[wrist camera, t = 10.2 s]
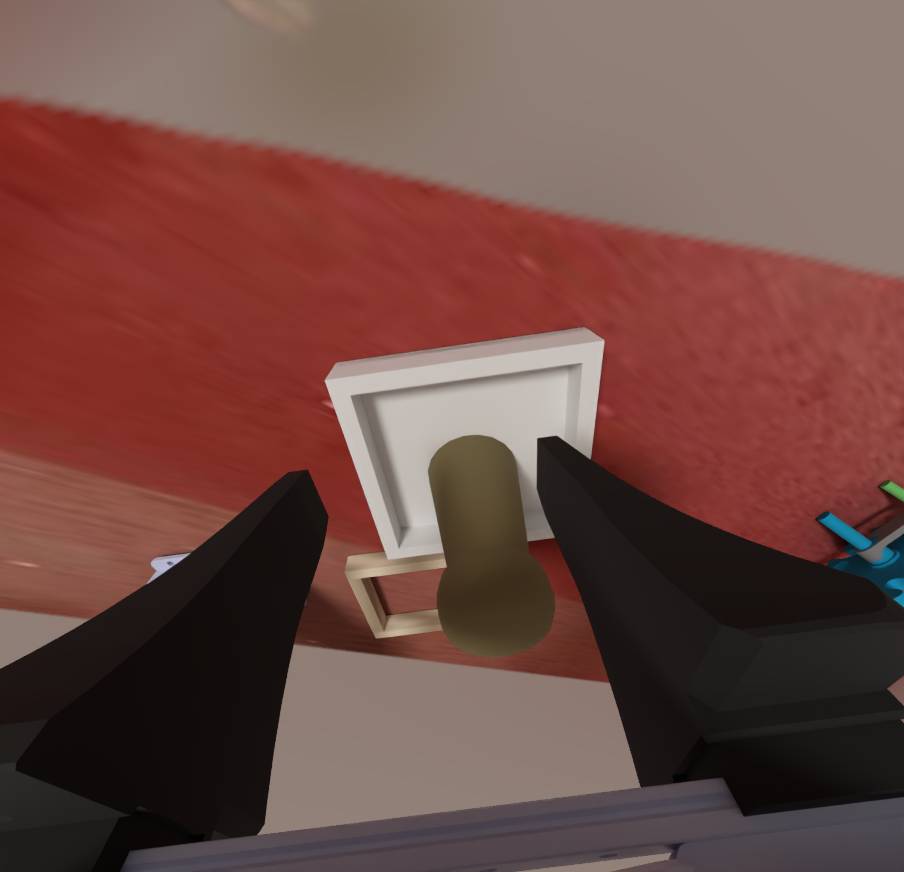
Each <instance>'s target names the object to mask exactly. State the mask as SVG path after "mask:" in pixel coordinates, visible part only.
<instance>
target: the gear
mask: <svg viewBox="0 0 904 872" xmlns="http://www.w3.org/2000/svg"><path fill="white" fill-rule="evenodd" d="M879 487H881V488H882V489H884V490H885V491H887V492H888V493H890V494H892V495H893V496H895V497H896V498H898V499H899V500H901V501H902V502H904V489H902V488H901V487H899V486H898V485H896V484H894V483H893V482H891V481H889V480H888V481H885V482H884V483H882V484H881V485H880V486H879ZM817 520H818V521H819V522H821V523H822V524H824V525H825V526H826V527H828V528H829V529H831V530H832V531H833V532H835V533H836V534H838V535H839V536H840V537H842V538H843V539H845V540H846V541H847V542H849V544H848V545H847V546H846V547H845V548H844V551H845V552H847V553H848V554H849V555H851V557H848V558H844V559H833V560H830V561H829V562H828V564H827V566H828V567H831V568H834V569H838V570H841V571H844V572H847V573H851V574H854V575H857V576H860V577H864V578H867V579H869V580H870V581H872V582H873V583H874V584H875V585H877V586H878V587H879V588H880V589H882V590H883V591H884V592H885V593H887V594H888V595H889V596H890V597H892V598H893V599H894V600H895V601H897V602H898V603H899V604H900V605H902V606H903V607H904V592H903V591H902V590H904V511H902V512H901V513H900V514H898V515H897V516H896V517H894V518H893V519H891V520H890V521H889V522H887V523H886V524H884V525H883V526H881V527H879V528H877V529H875V530H873V531H872V532H871V533H870V535H869V536H868V537H864V536H863V535H861V534H860V533H859V532H857V531H856V530H854V529H853V528H851V527H850V526H849V525H847V524H846V523H844V522H843V521H841V520H840V519H839V518H837V517H836V516H834V515H833V514H831V513H830V512H825V513H823V514H822V515H820V516H819V517H818V518H817Z"/></svg>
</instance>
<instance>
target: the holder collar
mask: <svg viewBox="0 0 904 872" xmlns="http://www.w3.org/2000/svg"><path fill="white" fill-rule="evenodd" d="M444 567H447V566H446V561H445V556H444V552H443V553H436V554H428V555H421V556H413V557H406V558H398V559H390V560H388V558H387V555H386V553H385V551H384V552H376V553H369V554H361V555H353V556H348V559H347V564H346V568H345V574H346V577H347V579H348V581H349V583H350V585H351V587H352V589H353V591H354V593H355V596H356V598H357V600H358V602H359V604H360V606H361V608H362V610H363V612H364V615H365V617H366V619H367V621H368V623H369V625H370V627H371V629H372V631H373V634H374V636H375V638H376V639H377V638H385V637H393V636H400V635H408V634H416V633H424V632H432V631H439V630H443V629H442V627H441V623H440V620H439V616H438V609H434V610H426V611H418V612H410V613H403V614H395V615H387V616H386V615H385V613H384V610H383V608H382V606H381V603H380V601H379V598H378V596H377V594H376V591H375V589H374V586H373V584H372V581H371V579H370V577H375V576H383V575H390V574H398V573H405V572H413V571H421V570H428V569H436V568H444Z"/></svg>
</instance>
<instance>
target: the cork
mask: <svg viewBox="0 0 904 872" xmlns="http://www.w3.org/2000/svg"><path fill="white" fill-rule="evenodd" d="M428 476H429V483H430V488H431V493H432V498H433V502H434V507H435V512H436V517H437V522H438V527H439V532H440V537H441V542H442V546H443V551H444V556H445V561H446V566H447V568H446V569H445V571H444V572H443V575H442V577H441V580H440V583H439V587H438V591H437V609H438V616H439V620H440V623H441V627H442V629H443V631H444V632H445V634H446V635H447V637H448V638H449V640H450V641H451V642H452V643H453V645H454V646H456V647H457V648H459V649H461V650H463V651H464V652H467V653H470V654H473V655H477V656H481V657H503V656H509V655H513V654H517V653H520V652H523V651H525V650H527V649H529V648H531V647H532V646H534V645H535V644H537V643H538V642H539V641H540V640H542V639H543V638H544V637H545V636H546V634H547V633H548V632H549V630H550V629H551V625H552V621H553V617H554V612H555V599H554V593H553V590H552V588H551V585H550V582H549V580H548V577H547V575H546V572H545V571H544V569H543V568H542V566H541V565H540V563H539V562H538V561H536V560H535V559H534V558H533V557H532V556H531V555H530V554H529V547H528V540H527V533H526V526H525V519H524V513H523V506H522V499H521V492H520V485H519V478H518V471H517V464H516V461H515V458H514V455H513V453H512V451H511V450H510V449H509V448H508V447H507V446H506V445H505V444H504V443H502V442H501V441H499V440H497V439H495V438H493V437H489V436H483V435H468V436H462V437H459V438H456V439H453V440H451V441H449V442H447V443H446V444H445V445H443V446H442V447H441V448H439V449H438V450H437V452H436V453H435V454H434V456H433V457H432V459H431V461H430V464H429V468H428Z"/></svg>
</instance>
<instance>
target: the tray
mask: <svg viewBox="0 0 904 872" xmlns="http://www.w3.org/2000/svg"><path fill="white" fill-rule="evenodd" d="M604 341H605V340H603V339H602V338H600V337H599V336H597V335H596V334H594V333H593V332H591V331H590V330H588V329H587V328H585V327H583V328H576V329H569V330H562V331H555V332H548V333H541V334H534V335H527V336H520V337H513V338H506V339H499V340H492V341H485V342H478V343H471V344H464V345H457V346H450V347H443V348H436V349H429V350H422V351H415V352H408V353H401V354H394V355H387V356H380V357H373V358H366V359H359V360H352V361H345V362H338V363H336V364H335V365H334V367H333V368H332V370H331V372H330V373H329V375H328V376H327V378H326V379H325V382H326V385H327V388H328V391H329V394H330V397H331V399H332V402H333V405H334V408H335V411H336V414H337V416H338V419H339V422H340V425H341V428H342V431H343V433H344V436H345V439H346V442H347V445H348V448H349V450H350V453H351V456H352V459H353V462H354V465H355V467H356V470H357V473H358V476H359V479H360V482H361V484H362V487H363V490H364V493H365V496H366V499H367V502H368V504H369V507H370V510H371V513H372V516H373V519H374V521H375V524H376V527H377V530H378V533H379V536H380V538H381V541H382V544H383V547H384V550H385V553H386V555H387V558H388V560H390V559H398V558H406V557H413V556H421V555H428V554H436V553H443V552H444V551H443V546H442V542H441V537H440V532H439V527H438V522H437V517H436V512H435V507H434V502H433V498H432V493H431V488H430V483H429V476H428V468H429V464H430V461H431V459H432V457H433V456H434V454H435V453H436V452H437V450H438V449H439V448H441V447H442V446H443V445H445V444H446V443H447V442H449V441H451V440H453V439H456V438H459V437H462V436H468V435H483V436H489V437H493V438H495V439H497V440H499V441H501V442H502V443H504V444H505V445H506V446H507V447H508V448H509V449H510V450H511V451H512V453H513V455H514V458H515V461H516V464H517V471H518V478H519V485H520V492H521V499H522V506H523V513H524V519H525V526H526V533H527V540H528V541H534V540H542V539H549V538H555V537H554V535H553V533H552V530H551V528H550V526H549V524H548V521H547V519H546V517H545V514H544V511H543V508H542V505H541V502H540V498H539V495H538V492H537V489H536V485H537V438H542V437H549V436H556V435H557V436H558V437H560V438H561V439H563V440H564V441H566V442H567V443H568V444H570V445H571V446H572V447H574V448H575V449H577V450H578V451H579V452H581V453H582V454H584V455H585V456H586V457H588V458H589V459H591V453H592V444H593V435H594V427H595V418H596V409H597V401H598V392H599V384H600V375H601V366H602V358H603V349H604Z"/></svg>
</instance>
